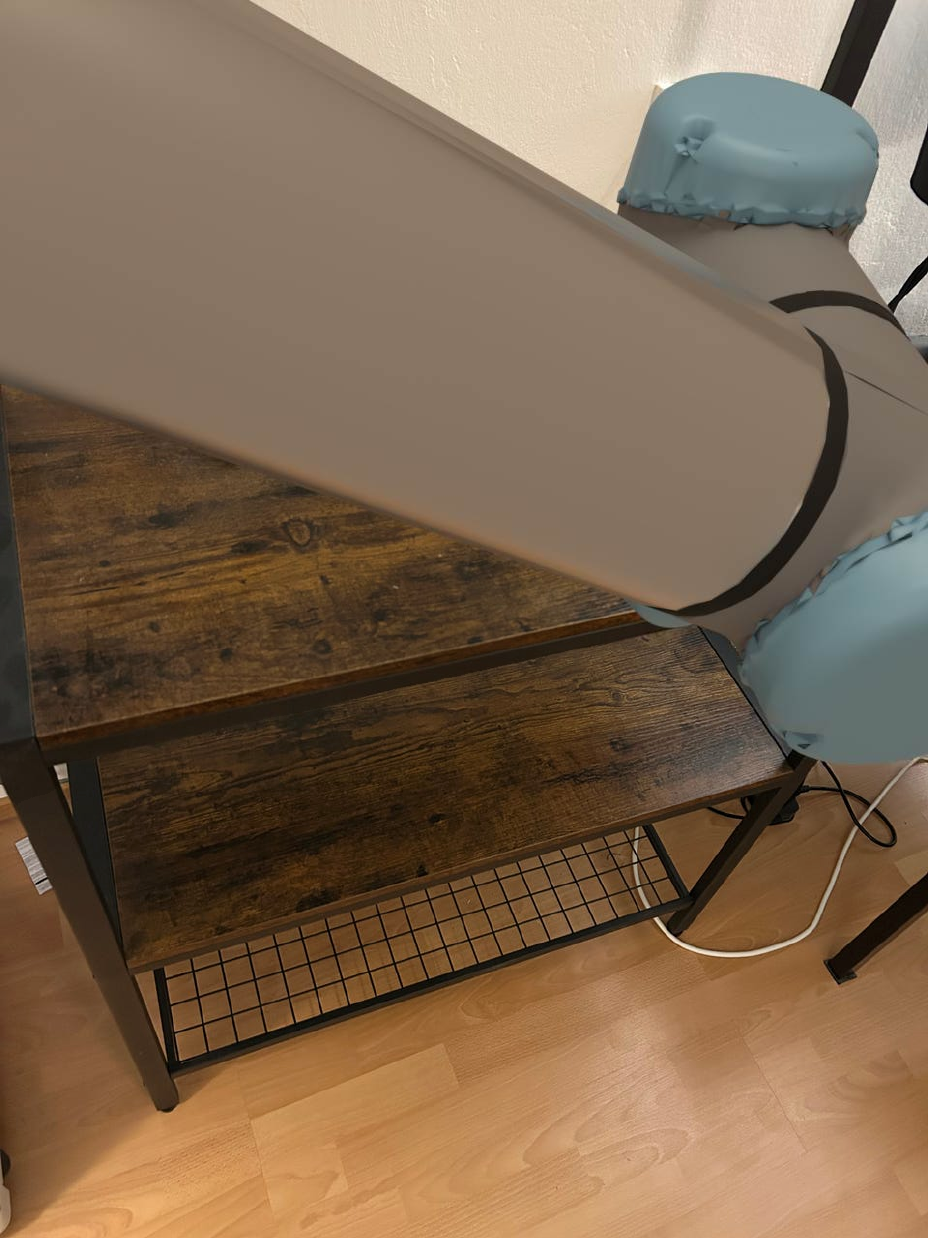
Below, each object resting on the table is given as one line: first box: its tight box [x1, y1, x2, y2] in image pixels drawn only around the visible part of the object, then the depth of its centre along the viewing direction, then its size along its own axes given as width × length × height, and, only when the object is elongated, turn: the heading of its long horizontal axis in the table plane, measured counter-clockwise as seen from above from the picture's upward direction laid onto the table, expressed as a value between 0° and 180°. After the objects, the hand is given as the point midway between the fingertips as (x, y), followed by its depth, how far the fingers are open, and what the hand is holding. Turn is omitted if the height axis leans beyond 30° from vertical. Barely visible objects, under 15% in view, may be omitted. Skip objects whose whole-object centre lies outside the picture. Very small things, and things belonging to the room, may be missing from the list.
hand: (333, 163), depth 57 cm, fingers open, 13 cm apart
